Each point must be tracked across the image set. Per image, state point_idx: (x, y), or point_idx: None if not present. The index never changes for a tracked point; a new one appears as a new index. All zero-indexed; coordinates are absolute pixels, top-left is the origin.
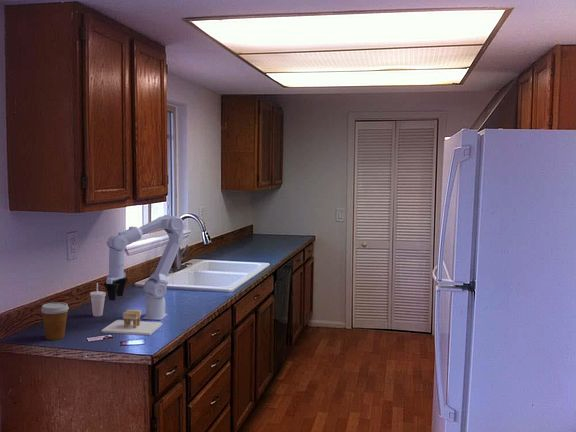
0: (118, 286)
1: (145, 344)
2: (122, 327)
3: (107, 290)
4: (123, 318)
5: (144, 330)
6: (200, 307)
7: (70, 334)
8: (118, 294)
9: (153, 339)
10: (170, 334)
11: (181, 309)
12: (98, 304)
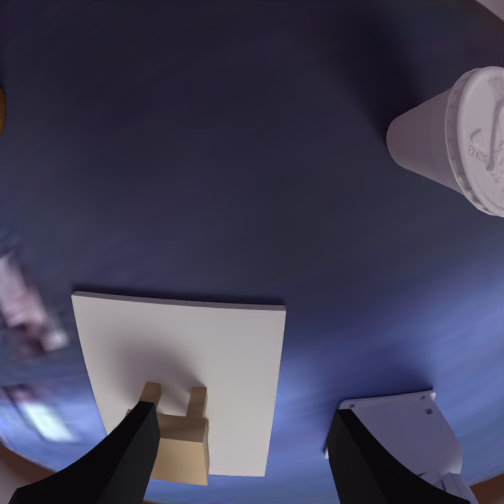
0: (360, 495)
1: (43, 442)
2: (144, 375)
3: (77, 466)
4: (128, 411)
5: None
6: (471, 465)
7: (16, 158)
8: (336, 430)
9: None
10: (154, 491)
11: (466, 442)
12: (421, 156)
